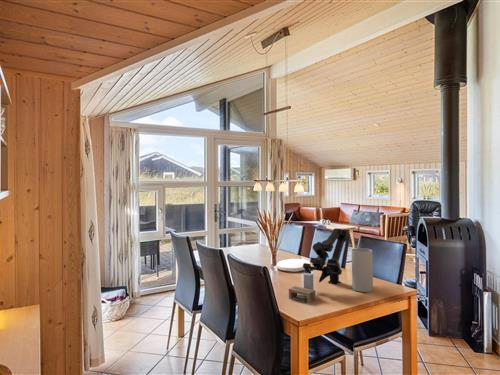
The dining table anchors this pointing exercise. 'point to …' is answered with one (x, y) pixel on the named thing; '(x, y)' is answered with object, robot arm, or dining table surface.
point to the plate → (292, 265)
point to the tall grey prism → (307, 284)
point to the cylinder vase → (362, 270)
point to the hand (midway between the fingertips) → (312, 280)
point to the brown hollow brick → (304, 291)
